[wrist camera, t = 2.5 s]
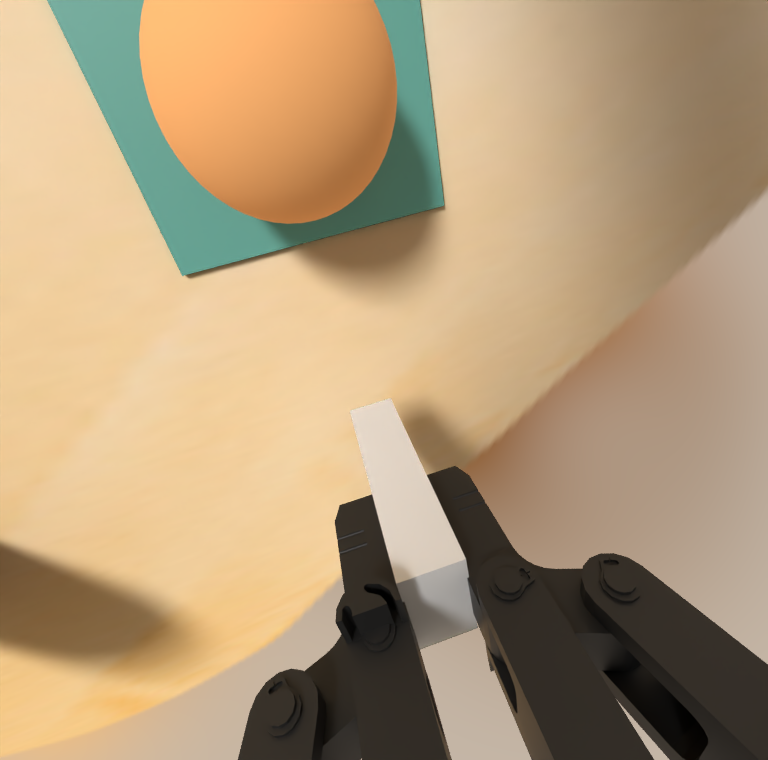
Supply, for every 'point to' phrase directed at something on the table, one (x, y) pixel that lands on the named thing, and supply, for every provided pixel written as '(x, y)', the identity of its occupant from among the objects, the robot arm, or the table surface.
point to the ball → (272, 99)
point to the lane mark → (197, 205)
